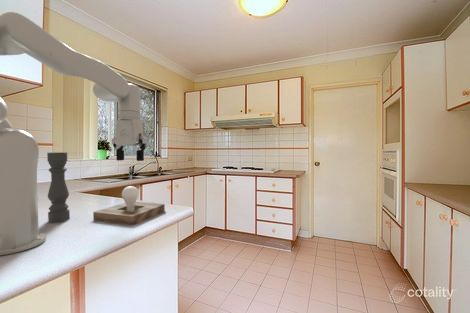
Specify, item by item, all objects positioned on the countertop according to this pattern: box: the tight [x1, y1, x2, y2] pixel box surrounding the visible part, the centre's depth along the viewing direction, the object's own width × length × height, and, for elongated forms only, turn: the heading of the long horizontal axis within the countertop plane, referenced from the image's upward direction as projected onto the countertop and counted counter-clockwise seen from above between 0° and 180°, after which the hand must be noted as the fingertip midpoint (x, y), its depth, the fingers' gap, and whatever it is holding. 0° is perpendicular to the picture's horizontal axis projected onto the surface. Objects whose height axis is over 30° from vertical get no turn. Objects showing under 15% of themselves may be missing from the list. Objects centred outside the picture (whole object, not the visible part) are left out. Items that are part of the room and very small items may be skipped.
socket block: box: [92, 201, 165, 226], centre depth 87 cm, size 18×18×3 cm
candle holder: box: [46, 152, 71, 224], centre depth 81 cm, size 6×6×25 cm
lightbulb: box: [121, 185, 140, 211], centre depth 87 cm, size 6×6×11 cm
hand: (130, 160), depth 87 cm, fingers open, 9 cm apart
